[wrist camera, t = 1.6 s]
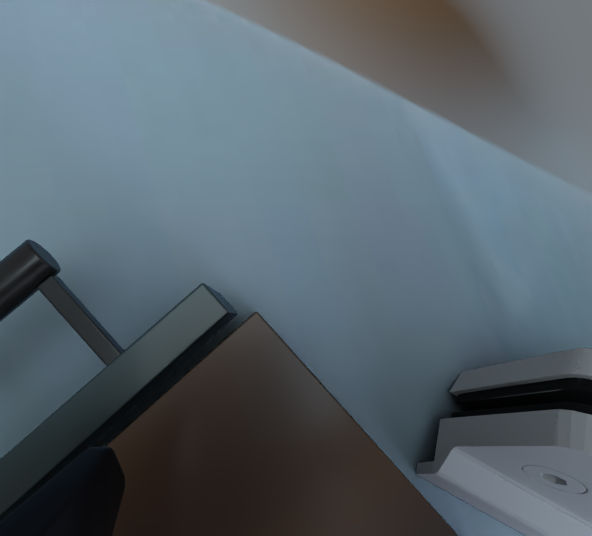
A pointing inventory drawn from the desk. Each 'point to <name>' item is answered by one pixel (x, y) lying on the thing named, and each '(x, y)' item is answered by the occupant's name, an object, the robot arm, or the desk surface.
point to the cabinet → (260, 455)
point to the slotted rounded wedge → (522, 443)
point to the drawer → (105, 385)
